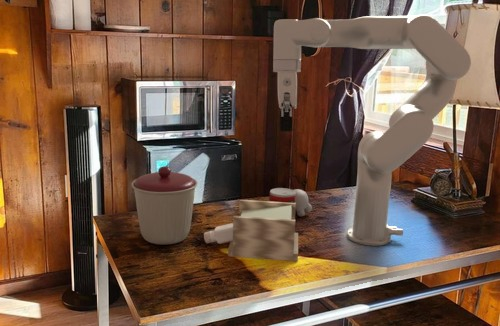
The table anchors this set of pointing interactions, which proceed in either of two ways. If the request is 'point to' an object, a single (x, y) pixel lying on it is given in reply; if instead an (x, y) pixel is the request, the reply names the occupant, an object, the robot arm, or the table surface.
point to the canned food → (282, 195)
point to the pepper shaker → (220, 234)
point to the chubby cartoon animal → (301, 203)
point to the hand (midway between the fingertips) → (285, 128)
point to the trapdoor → (270, 212)
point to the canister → (164, 205)
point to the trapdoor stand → (264, 234)
